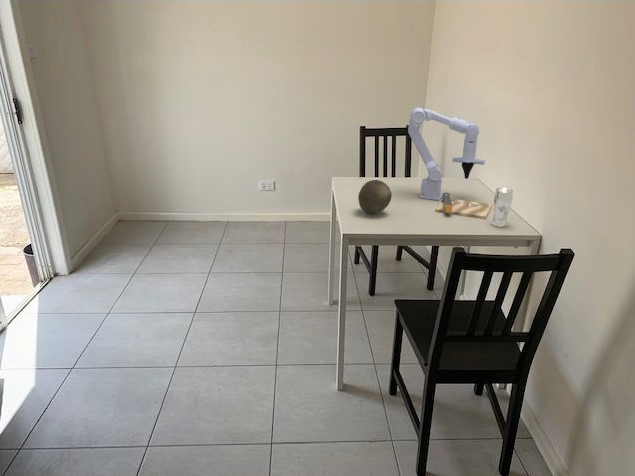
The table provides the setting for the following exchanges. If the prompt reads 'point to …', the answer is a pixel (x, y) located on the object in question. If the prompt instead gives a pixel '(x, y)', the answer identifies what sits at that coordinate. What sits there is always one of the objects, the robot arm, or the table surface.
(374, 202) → the grey ball
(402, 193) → the table surface
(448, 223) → the table surface
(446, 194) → the swing bar
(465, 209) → the label board
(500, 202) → the beer glass
